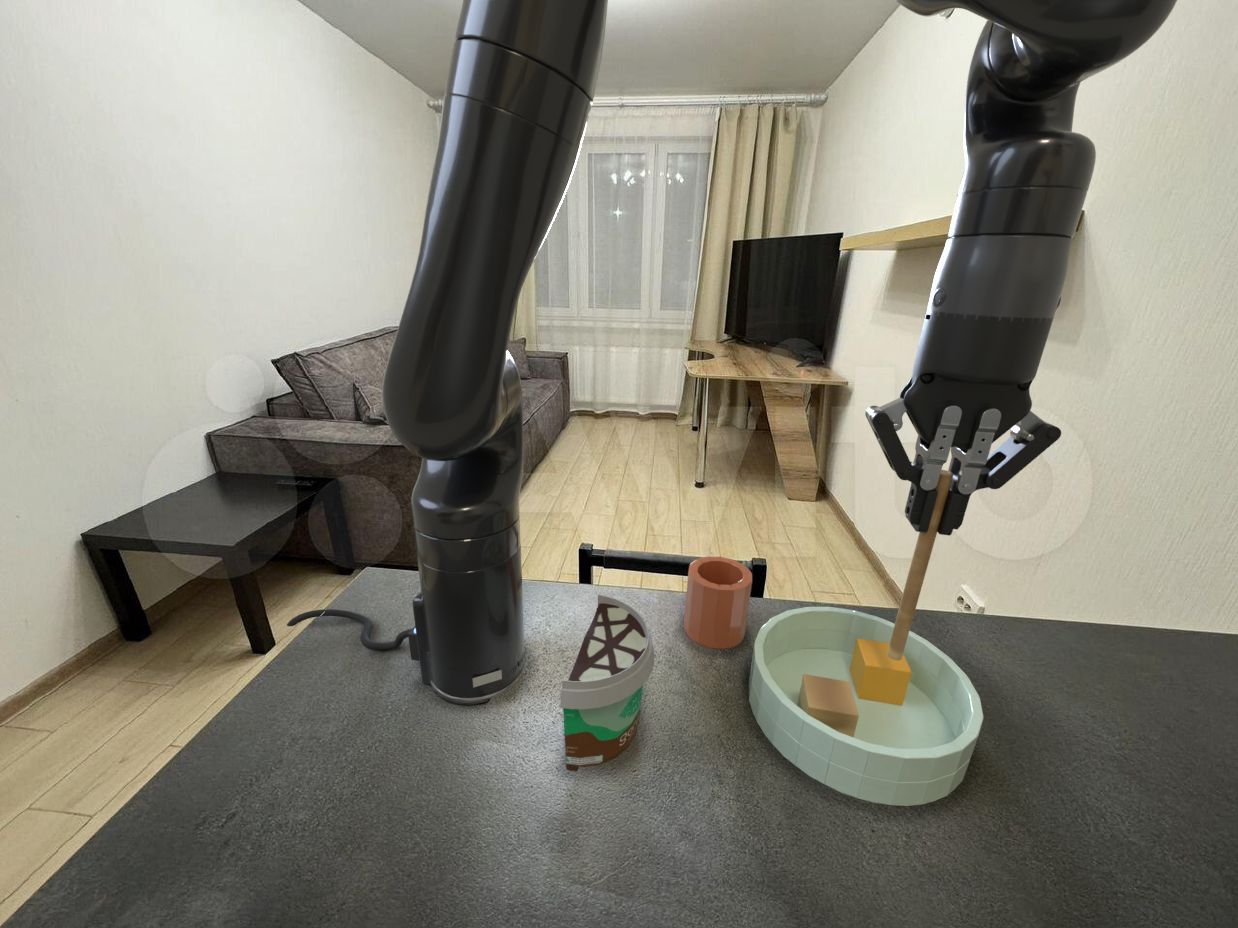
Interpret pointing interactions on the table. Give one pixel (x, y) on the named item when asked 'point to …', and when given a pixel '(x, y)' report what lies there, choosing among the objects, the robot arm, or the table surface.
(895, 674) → the mustard block
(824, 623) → the bowl
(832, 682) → the pine block
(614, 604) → the food container
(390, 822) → the table surface
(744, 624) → the cup
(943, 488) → the stirring stick
